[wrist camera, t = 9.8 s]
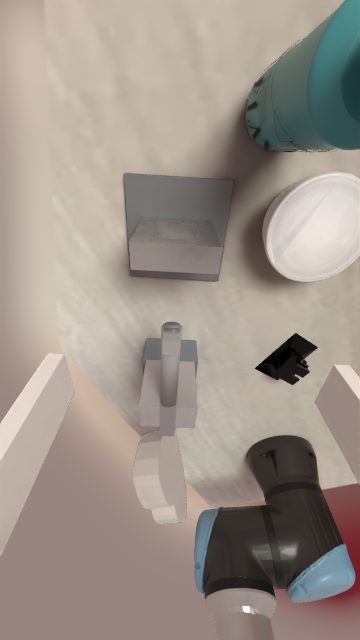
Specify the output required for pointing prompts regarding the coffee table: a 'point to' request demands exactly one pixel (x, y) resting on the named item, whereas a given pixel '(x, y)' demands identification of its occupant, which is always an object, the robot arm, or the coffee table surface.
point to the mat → (177, 208)
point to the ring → (175, 246)
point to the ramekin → (314, 227)
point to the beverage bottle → (312, 90)
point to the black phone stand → (288, 360)
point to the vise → (169, 382)
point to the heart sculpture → (160, 477)
